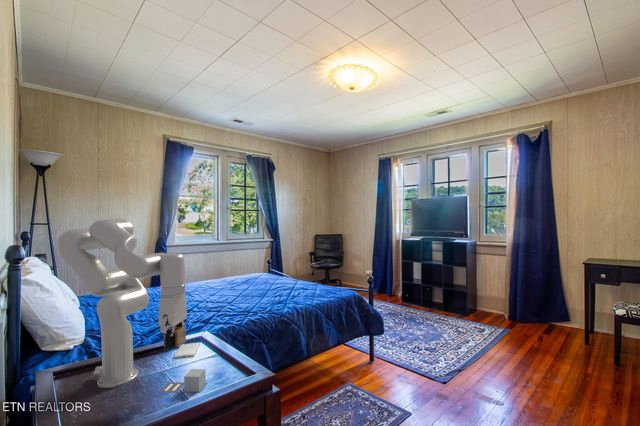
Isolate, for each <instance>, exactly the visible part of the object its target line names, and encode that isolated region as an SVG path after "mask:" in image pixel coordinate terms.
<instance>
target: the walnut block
mask: <svg viewBox="0 0 640 426" xmlns="http://www.w3.org/2000/svg"><path fill="white" fill-rule="evenodd" d="M186 327H187V326H185V327H175V328H174V335H175V347H174V348H179V347H180V346H181V345H182V344H186V342H187V328H186ZM168 330H170V331H171V328H168ZM163 347H164V348H166V347H165V336H164V335H163Z"/></svg>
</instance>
